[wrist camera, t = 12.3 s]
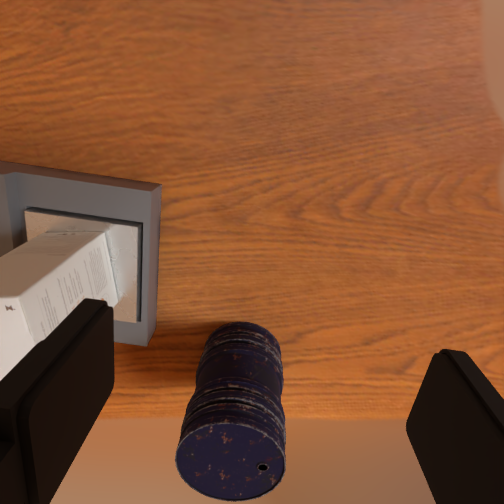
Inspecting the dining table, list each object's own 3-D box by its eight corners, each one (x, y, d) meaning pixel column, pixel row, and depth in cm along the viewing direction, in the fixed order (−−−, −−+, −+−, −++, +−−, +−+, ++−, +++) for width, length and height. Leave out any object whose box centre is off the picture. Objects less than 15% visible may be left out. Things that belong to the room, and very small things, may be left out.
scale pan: (42, 203, 37) (24, 211, 35) (147, 218, 37) (137, 227, 35) (50, 295, 42) (35, 308, 39) (145, 308, 42) (136, 323, 39)
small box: (43, 231, 35) (-75, 296, 23) (105, 230, 35) (19, 295, 23) (61, 303, 38) (-34, 393, 26) (119, 303, 38) (50, 394, 26)
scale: (-16, 158, 37) (-57, 166, 33) (161, 184, 37) (146, 195, 33) (5, 307, 44) (-25, 331, 39) (155, 328, 44) (142, 354, 40)
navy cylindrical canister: (202, 381, 47) (173, 496, 33) (203, 317, 43) (172, 416, 29) (278, 388, 47) (281, 507, 33) (286, 324, 43) (294, 428, 29)
